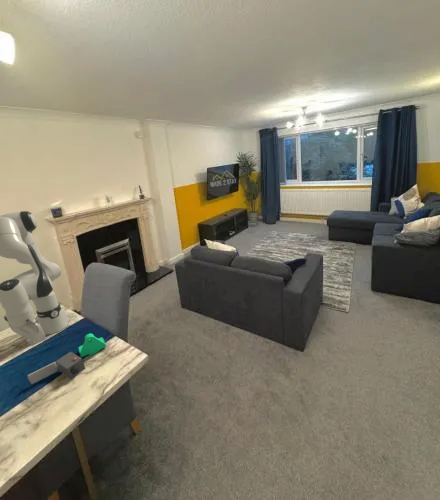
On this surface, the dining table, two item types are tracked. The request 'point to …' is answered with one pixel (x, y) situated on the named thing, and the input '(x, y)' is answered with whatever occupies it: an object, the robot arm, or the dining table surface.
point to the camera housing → (70, 365)
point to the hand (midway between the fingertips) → (32, 344)
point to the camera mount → (91, 345)
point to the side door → (42, 372)
